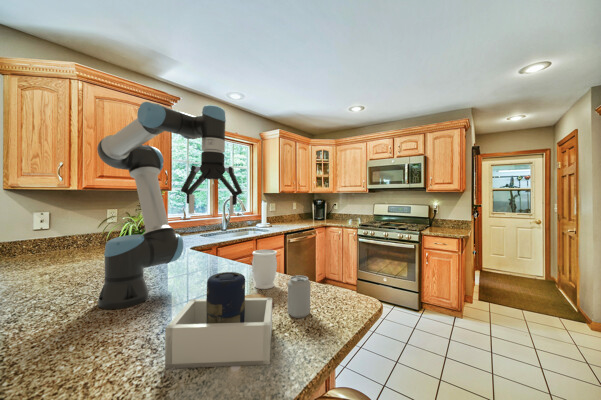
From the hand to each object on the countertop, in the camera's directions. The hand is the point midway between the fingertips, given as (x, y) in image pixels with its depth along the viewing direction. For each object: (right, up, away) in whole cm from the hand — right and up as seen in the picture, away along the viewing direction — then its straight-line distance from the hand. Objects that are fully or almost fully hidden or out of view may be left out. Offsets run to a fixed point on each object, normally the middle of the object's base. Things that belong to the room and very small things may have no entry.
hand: (211, 214), depth 87 cm
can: (+30, -33, -4) cm, 45 cm away
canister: (+12, -32, -23) cm, 41 cm away
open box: (+12, -33, -23) cm, 41 cm away
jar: (+15, -33, +22) cm, 42 cm away
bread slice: (+11, -33, -1) cm, 35 cm away
